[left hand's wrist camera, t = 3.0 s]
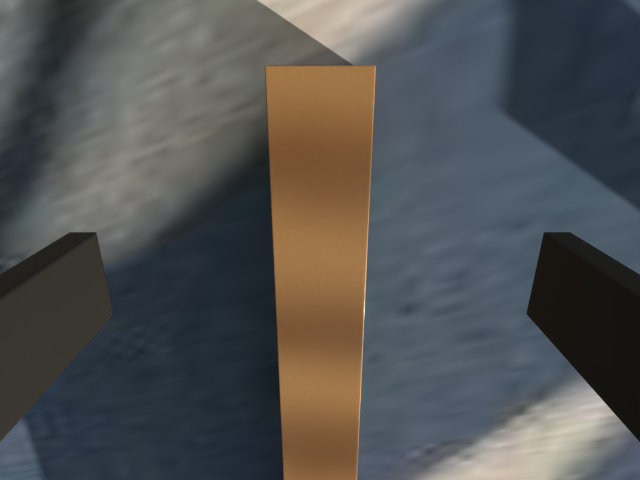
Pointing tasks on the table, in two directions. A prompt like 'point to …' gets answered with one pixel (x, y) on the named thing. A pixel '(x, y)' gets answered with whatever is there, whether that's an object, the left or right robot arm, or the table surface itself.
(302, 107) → the bar
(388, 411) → the table surface
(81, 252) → the left robot arm
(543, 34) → the table surface
